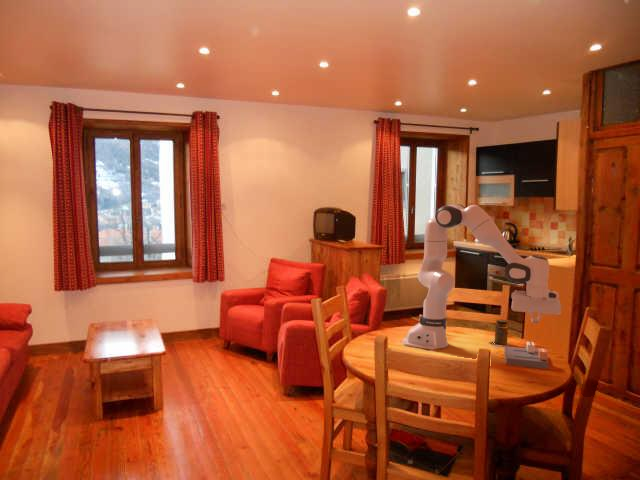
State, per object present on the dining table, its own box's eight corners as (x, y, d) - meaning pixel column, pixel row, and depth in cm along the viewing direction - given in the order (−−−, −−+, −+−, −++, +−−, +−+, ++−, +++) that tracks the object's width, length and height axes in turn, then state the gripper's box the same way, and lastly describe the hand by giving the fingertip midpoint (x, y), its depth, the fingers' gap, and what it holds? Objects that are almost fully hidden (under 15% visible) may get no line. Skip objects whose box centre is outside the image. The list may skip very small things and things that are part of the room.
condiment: (510, 344, 250) (511, 321, 249) (500, 347, 245) (501, 323, 244) (498, 340, 256) (499, 318, 255) (488, 343, 251) (489, 320, 250)
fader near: (539, 359, 217) (540, 351, 216) (538, 355, 221) (538, 348, 221) (547, 360, 216) (547, 352, 215) (545, 356, 221) (545, 348, 220)
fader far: (527, 352, 226) (527, 344, 226) (526, 348, 231) (526, 341, 231) (534, 352, 226) (534, 345, 225) (533, 349, 230) (533, 342, 230)
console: (506, 364, 220) (507, 358, 219) (504, 352, 237) (504, 346, 236) (548, 369, 215) (548, 362, 214) (542, 356, 232) (543, 349, 231)
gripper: (512, 291, 218) (510, 321, 219) (563, 295, 211) (560, 326, 213) (511, 288, 224) (509, 318, 225) (560, 292, 217) (558, 323, 219)
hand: (534, 322), depth 219 cm, fingers closed
